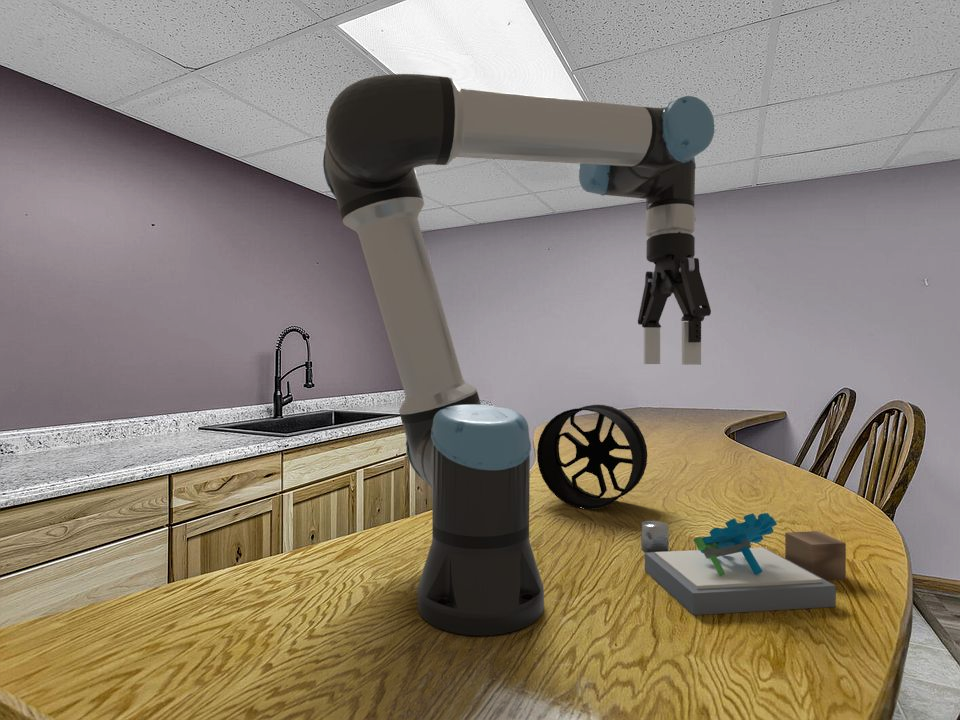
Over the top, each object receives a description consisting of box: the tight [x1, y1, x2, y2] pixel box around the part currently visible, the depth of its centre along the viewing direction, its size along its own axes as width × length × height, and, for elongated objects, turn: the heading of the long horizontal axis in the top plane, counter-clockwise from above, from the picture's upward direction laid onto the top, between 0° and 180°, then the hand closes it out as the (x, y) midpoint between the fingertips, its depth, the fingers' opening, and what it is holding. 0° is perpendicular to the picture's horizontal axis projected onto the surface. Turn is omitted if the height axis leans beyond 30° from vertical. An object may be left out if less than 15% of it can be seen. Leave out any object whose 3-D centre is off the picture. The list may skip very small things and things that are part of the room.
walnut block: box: [784, 530, 847, 582], centre depth 73 cm, size 5×5×5 cm
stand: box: [644, 547, 837, 616], centre depth 68 cm, size 18×13×3 cm
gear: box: [693, 512, 778, 575], centre depth 67 cm, size 11×6×10 cm
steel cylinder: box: [640, 520, 670, 554], centre depth 82 cm, size 4×4×4 cm
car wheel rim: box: [536, 404, 648, 511], centre depth 108 cm, size 20×10×20 cm, turn 58°
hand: (670, 364), depth 87 cm, fingers open, 13 cm apart
